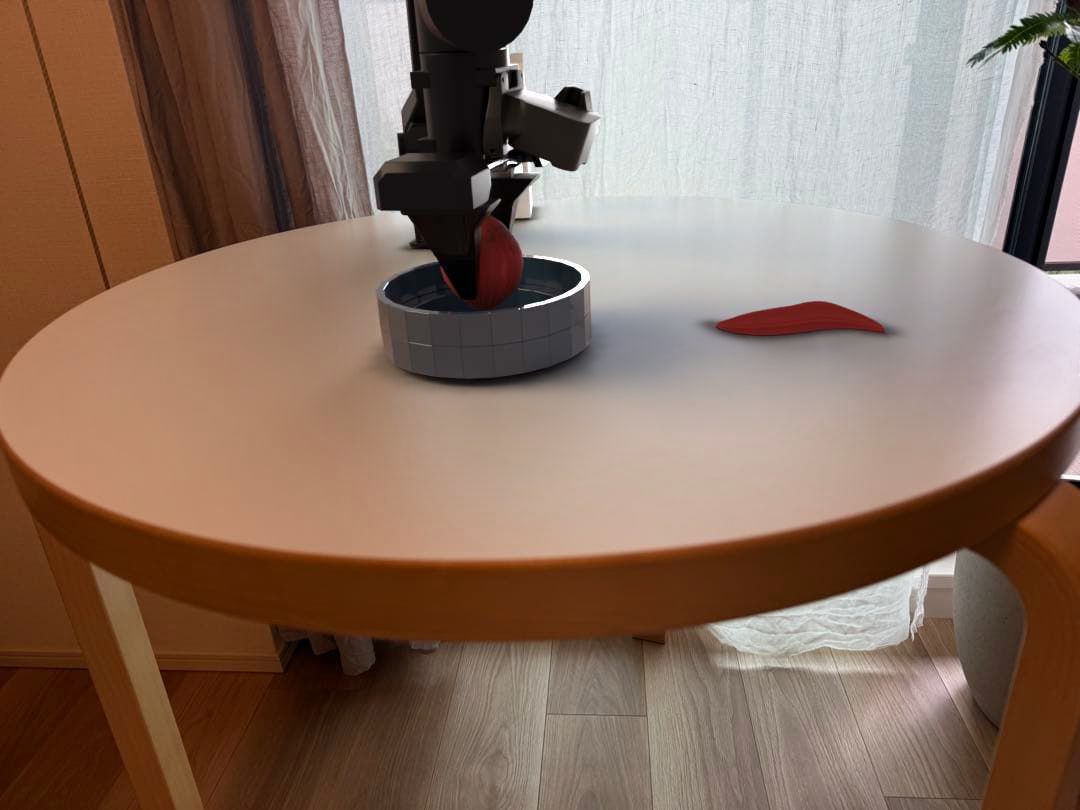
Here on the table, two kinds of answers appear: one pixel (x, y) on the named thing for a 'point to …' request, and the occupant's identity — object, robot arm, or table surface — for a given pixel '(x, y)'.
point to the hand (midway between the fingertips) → (483, 286)
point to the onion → (495, 266)
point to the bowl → (485, 322)
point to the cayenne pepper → (799, 319)
